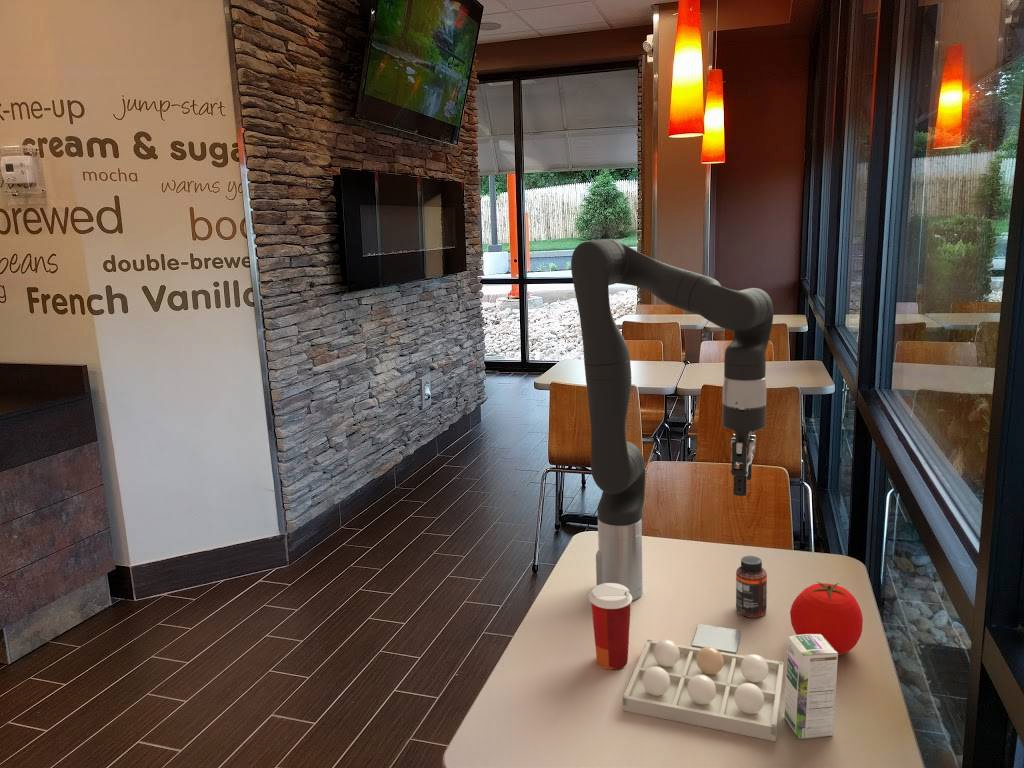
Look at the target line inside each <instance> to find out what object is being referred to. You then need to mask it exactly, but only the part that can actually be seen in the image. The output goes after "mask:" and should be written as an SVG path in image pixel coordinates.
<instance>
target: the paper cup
mask: <svg viewBox="0 0 1024 768" xmlns="http://www.w3.org/2000/svg"><path fill="white" fill-rule="evenodd" d="M588 600H589V602H590V603H591V613H592V622H593V623H592V624H593V632H594V633H593V634H594V643H595V644H594V645H595V655H596V662H598V663H597V665H598V664H599V665H600V667H601V666H602V667H603V668H602V667H601V668H602V669H604V668H606V669H605V670H608V669H618V670H621V669H623V668H625V667H626V666H627V665H628V662H629V661H628V659H629V646H630V641H629V639H630V626H631V625H630V624H631V603H632V602H633V601H632V596H631V594H630V591H629V589H628V588H627V587H625V586H623V585H621V584H617V583H604V584H600V585H598V586H597V585H596V586H595V587H593V589H592V590H591V591H590V594H589V595H588ZM626 664H627V665H626ZM599 665H598V666H599ZM625 665H626V666H625ZM624 666H625V667H624ZM622 667H623V668H622ZM620 668H621V669H620Z"/></svg>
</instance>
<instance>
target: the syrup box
mask: <svg viewBox="0 0 1024 768" xmlns="http://www.w3.org/2000/svg"><path fill="white" fill-rule="evenodd" d="M786 651H787V653H786V669H785V686H784V687H785V688H784V689H785V691H784V695H785V696H784V710H783V711H784V712H783V713H784V714H783V716H784V719H785V721H786V722H787V723H788V725H789V726H790V728H791V730H792V731H793V732H794V734H795V735H796V737H797V738H798V740H803V739H805V740H806V739H814V738H815V739H816V738H822V737H830V736H831V737H832V736H834V727H835V726H834V725H835V724H834V723H835V710H836V708H835V707H836V695H837V694H836V693H837V680H838V679H837V678H838V659H839V655H838V652H836V651H835V650H834V649H833V647H832V646H831V645H830V644H829V642H828V641H827V640H826V639H825V638H824V637H823V636H822V635H821V634H802V635H797V634H795V635H791V636H787V650H786Z"/></svg>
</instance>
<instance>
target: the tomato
mask: <svg viewBox="0 0 1024 768" xmlns="http://www.w3.org/2000/svg"><path fill="white" fill-rule="evenodd" d="M839 584H840V583H839V582H838V583H837V582H836V583H828V582H819V581H817V583H813V584H811V585H809V586H807V587H806V588H804V589H803V590H802V591H801V592H800V593H799V594H798V595H797V596H796V597H795V599H794V600H793V602H792V605H791V607H790V610H789V615H790V623H791V627H792V629H793V631H794V633H795V635H802V634H821V635H822V636H823V637H824V638H825V639H826V640H827V641H828V642H829V644H830V645H831V646H832V647H833V649H834V650H835V651H836V652H838V656H839V655H840V656H841V655H844V654H845V653H847V652H850V651H851V650H852V649H854V647H856V645H857V643H858V642H859V640H860V638H861V636H862V632H863V621H864V620H863V612H862V609H861V606H860V605H859V602H858V601H857V599H856V597H855V596H854V595H853V594H852V593H851V592H850V591H849V590H848V589H846V588H844V587H843V586H840V585H839Z"/></svg>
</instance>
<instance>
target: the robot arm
mask: <svg viewBox="0 0 1024 768" xmlns="http://www.w3.org/2000/svg"><path fill="white" fill-rule="evenodd" d="M570 271H571V277H572V283H573V288H574V293H575V297H576V298H575V299H576V303H577V308H578V314H579V322H580V330H581V331H580V332H581V338H582V347H583V348H582V349H583V363H584V375H585V383H586V390H587V392H586V393H587V400H588V401H587V402H588V411H589V419H590V437H591V439H590V470H591V471H590V473H591V476H592V479H593V481H594V482H595V483H594V484H595V485H596V486H597V487H598V489H599V490H601V491H602V493H601V497H600V499H599V502H598V504H597V535H598V536H597V537H598V538H597V541H598V542H597V543H598V545H597V546H598V549H597V552H596V553H595V573H596V574H595V575H596V577H595V578H596V586H598V585H600V584H604V583H617V584H621V585H623V586H625V587H627V588H628V589H629V591H630V594H631V596H632V602H633V601H635V600H637V599H639V598H641V597H642V595H643V593H644V592H643V586H644V585H643V583H644V582H643V536H642V534H643V533H642V528H643V526H642V521H643V520H642V516H643V515H642V514H643V512H642V511H643V507H644V503H645V490H646V487H645V485H646V465H645V459H644V456H643V453H642V452H641V450H640V448H639V447H638V446H637V445H635V444H634V443H632V442H630V441H627V435H626V422H627V415H628V414H627V413H628V411H629V410H628V408H629V404H630V398H631V397H630V396H631V391H632V369H631V368H632V365H631V356H630V350H629V347H628V343H627V342H626V340H625V338H624V335H623V333H622V332H621V330H620V329H619V327H618V325H617V324H616V321H615V319H614V317H613V313H612V309H611V303H610V295H609V294H610V293H609V291H610V290H609V286H612V285H615V284H620V285H629V286H633V287H637V288H641V289H643V290H646V291H648V292H650V294H652V295H654V296H655V297H656V298H658V299H659V300H661V301H662V302H664V303H665V304H668V305H669V306H672V307H674V308H676V309H677V308H678V309H680V310H682V311H686V312H689V313H691V314H694V315H699V316H701V317H703V319H705V320H707V321H709V322H710V323H712V324H714V325H715V326H718V327H719V328H722V329H724V330H727V331H731V332H734V333H733V338H732V341H731V342H730V344H729V345H728V346H727V347H726V349H725V352H724V359H723V361H724V362H723V363H724V367H723V368H724V371H723V372H724V374H723V375H724V377H723V384H722V407H721V408H722V409H721V410H722V411H721V412H722V414H721V415H722V416H721V417H722V418H721V419H722V423H721V424H722V427H724V428H725V429H727V430H730V431H731V430H732V431H733V432H735V433H733V434H732V438H731V439H730V440H731V441H730V446H731V455H730V461H731V469H730V470H731V471H730V473H731V476H733V495H735V496H739V497H745V496H747V494H748V493H747V492H748V491H747V490H748V481H750V480H751V479H752V473H753V471H752V470H753V469H752V468H753V465H752V463H753V459H754V454H755V453H756V442H757V441H756V440H757V436H756V435H755V432H758V431H760V430H763V429H765V427H766V425H767V380H766V371H767V370H766V369H767V368H766V367H767V366H766V365H767V363H766V361H767V359H766V357H767V356H766V355H767V349H768V345H769V342H770V337H771V331H772V326H773V322H774V320H773V319H774V305H773V302H772V298H771V296H770V295H769V294H768V293H767V292H766V291H764V290H763V289H761V288H758V287H757V288H756V287H750V288H745V289H742V290H735V289H730V288H727V287H725V286H722V285H721V283H720V281H718V280H717V279H714V278H713V277H710V276H707V275H703V274H701V273H698V272H693V271H691V270H687V269H683V268H681V267H678V266H677V267H676V266H674V265H670V264H667V263H665V262H662V261H659V260H657V259H654V258H652V257H650V256H648V255H646V254H644V253H641V252H640V251H637V250H636V249H634V248H632V247H630V246H628V245H626V244H624V243H622V242H620V241H618V240H615V239H612V238H603V239H602V238H601V239H595V240H594V239H592V240H587V241H586V240H585V241H583V242H581V243H579V244H578V245H577V246H576V247H575V249H574V250H573V252H572V255H571V261H570ZM737 466H738V468H737Z"/></svg>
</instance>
